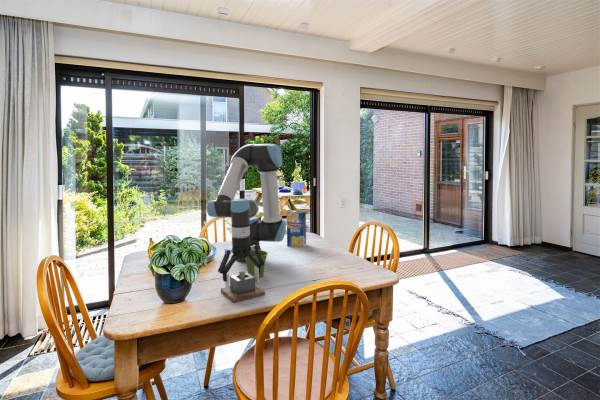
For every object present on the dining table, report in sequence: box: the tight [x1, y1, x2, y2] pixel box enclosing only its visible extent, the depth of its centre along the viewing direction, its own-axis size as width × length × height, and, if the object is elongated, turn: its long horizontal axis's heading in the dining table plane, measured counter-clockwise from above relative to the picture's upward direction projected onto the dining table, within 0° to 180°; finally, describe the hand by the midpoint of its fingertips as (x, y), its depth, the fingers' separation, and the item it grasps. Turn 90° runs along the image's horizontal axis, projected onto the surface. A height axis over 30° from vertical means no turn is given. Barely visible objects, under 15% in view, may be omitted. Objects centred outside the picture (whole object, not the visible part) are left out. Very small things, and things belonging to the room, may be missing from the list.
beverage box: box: [286, 210, 307, 248], centre depth 231 cm, size 7×11×22 cm, turn 73°
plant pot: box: [245, 249, 269, 278], centre depth 175 cm, size 12×12×11 cm
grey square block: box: [229, 271, 256, 295], centre depth 152 cm, size 8×8×6 cm
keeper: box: [220, 270, 266, 304], centre depth 152 cm, size 14×14×10 cm
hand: (242, 285), depth 153 cm, fingers open, 13 cm apart
